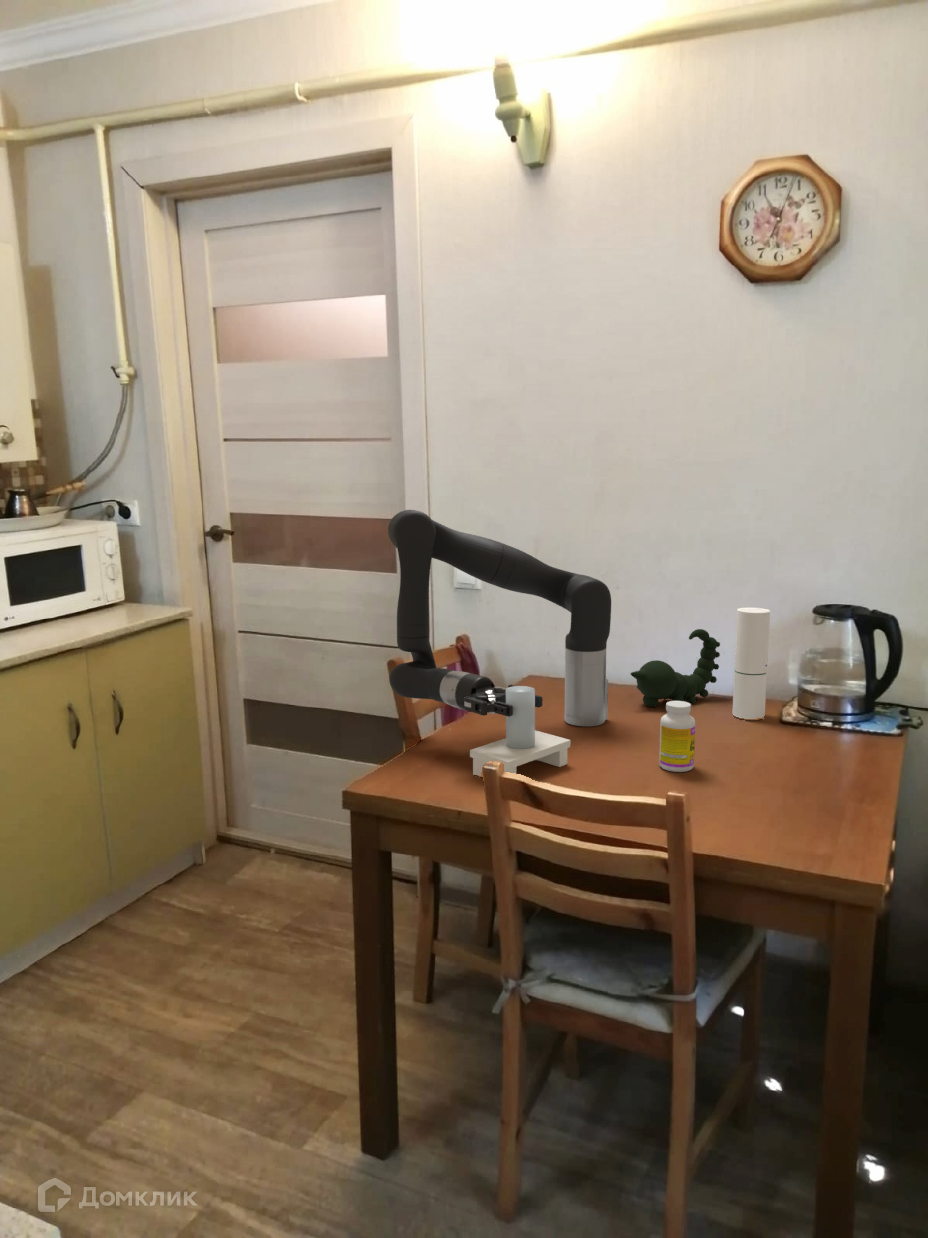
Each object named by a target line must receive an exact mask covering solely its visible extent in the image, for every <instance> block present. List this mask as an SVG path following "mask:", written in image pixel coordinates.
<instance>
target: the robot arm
mask: <svg viewBox="0 0 928 1238" xmlns="http://www.w3.org/2000/svg"><path fill="white" fill-rule="evenodd" d="M387 527H388V528H387V534H388V537H389V540H390V542H391V543H392V545H393V546H394V547H395V548H396V549H397V554H398V559H399V560H398V561H399V570H400V573H399V574H400V579H399V580H400V581H399V582H400V583H399V584H400V585H399V591H398V592H399V593H398V598H397V600H398V601H397V610H396V643H397V647H398V649H399V650H400V651H402V652H406V653H410V654H411V658H412V661H408V662H404V663H403V662H402V663H399V664H397V665H395V666H394V667H393V668H392V669H391V671H390V672H389V677H388V679H389V680H388V681H389V685H390V687H391V689H392V690H393V691H394V692H395V693H396V694H397V695H399V696H400V697H404V698H410V699H418V700H419V699H420V700H421V699H422V700H433V701H435V702H439V703H443V704H447V705H448V706H451V707H453V708H456V709H460V710H464V711H468V712H470V713H474V714H478V715H480V716H487V715H488V713H489V714H490V715H496V714H498V715H500V716H503V717H504V716H505V717H506V716H508V717H510V716H512V715H513V706H512V705H510V704H506V688H509V687H513V686H516V685H514V684H508V686H507V687H503V686H496V685H495V683H494V682H493V681H492V679H490V678H489V677H487V676H483V675H479V674H475V673H470V672H467V671H458V670H453V669H448V668H443V667H437V664H436V661H435V656H434V652H433V650H432V646H431V642H430V628H431V627H430V577H431V576H430V574H431V565H432V559H435V560H437V561H441V562H444V563H446V564H448V565H450V566H452V567H453V568H456V569H457V570H459V571H461V572H463V573H465V574H467V575H469V576H470V577H474V579H477V580H480V581H482V582H485V583H487V584H490V585H492V586H495V587H498V588H500V589H504V590H507V591H512V592H515V593H520V594H526V595H532V596H536V597H540V598H542V599H545V600H547V601H549V602H551V603H553V604H555V605H557V606H559V607H561V608H563V609H564V610H566V611H568V612H569V613H570V627H569V628H570V629H569V632H568V633H567V634H566V635H565V642H564V643H565V644H564V645H565V646H564V649H565V651H564V660H565V661H564V722H565V723H567V724H568V725H571V726H577V727H597V726H601V725H602V724H604V723H606V720H608V712H609V711H608V709H609V708H608V705H609V704H608V702H609V700H608V699H609V679H608V678H607V647H608V646H607V643H608V640H609V639H608V638H609V636H610V633H611V619H612V618H611V617H612V596H611V591H610V589H609V588H608V586H607V584H606V583H604V582H603V581H601V580H600V579H597V578H594V577H592V576H588V575H585V574H579V573H576V572H572V571H567V570H564V569H560V568H557V567H553V566H551V565H548V564H547V563H545V562H543V561H541V560H539V559H538V558H536V557H534V556H532V555H531V554H529V553H527V552H525V551H523V550H520V549H519V548H516V547H513V546H510V545H509V544H506V543H503V542H500V541H497V540H494V539H491V538H489V537H488V538H487V537H483V536H481V535H475V534H472V533H466V532H462V531H459V530H455V529H453V528H450V527H448V526H446V525H443V524H442V523H439V522H438V521H435V520H434V519H432V518H431V517H430V516H429V515H428V514H427V513H425V512H423V511H420V510H416V509H405V510H402V511H400V512H397V513H396V514H395V515H393V517H392V518H391V519H390V521H389V522H388V526H387ZM541 707H543V696H541V695H538V694H535V708H541Z"/></svg>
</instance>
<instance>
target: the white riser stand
mask: <svg viewBox="0 0 928 1238" xmlns="http://www.w3.org/2000/svg"><path fill="white" fill-rule="evenodd" d="M568 748H571V739H570V738H569V739H568V738H565V737H561V736H557V735H554V734H550V733H548V732H547V733H546V732H543V731H539V730H536V729H535V746H534V747H532V748H528V749H513V748H510V747H508V746H506V737H505V738H502V739H498V740H496V741H493V742H490V743H486V744H484V745H481V746H477V747H475V748H472V749H470V750H469V758H472V775H473V776H474V775H479V776H481V772H482V767H483V765H484V764H485V763H486V762H489V761H501V762H502V763H503V764H504V771H505V772H510V773H516V774H517V767H519V766H522V765H524V764H527V763H529V762H533V761H539V762H541V763H545V764H549V765H552V766H555V767H558V768H561V767H563V766H565V765H568Z"/></svg>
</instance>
